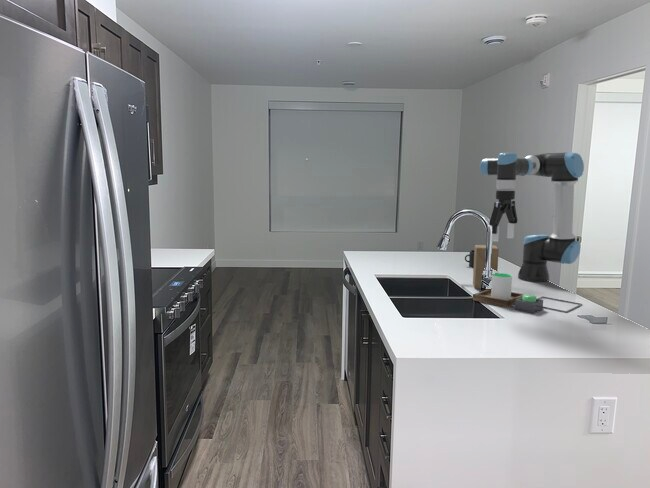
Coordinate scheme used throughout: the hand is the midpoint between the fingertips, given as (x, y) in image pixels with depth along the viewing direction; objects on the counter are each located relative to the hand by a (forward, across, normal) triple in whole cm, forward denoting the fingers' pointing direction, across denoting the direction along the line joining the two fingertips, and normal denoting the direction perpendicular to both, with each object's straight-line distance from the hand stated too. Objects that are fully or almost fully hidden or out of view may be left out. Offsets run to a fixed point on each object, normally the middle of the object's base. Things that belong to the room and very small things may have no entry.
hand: (502, 239), depth 211 cm
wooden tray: (+27, 0, 0) cm, 27 cm away
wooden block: (+27, -18, -17) cm, 36 cm away
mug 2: (+26, 0, 0) cm, 26 cm away
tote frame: (+27, -10, +19) cm, 34 cm away
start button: (+26, +5, +15) cm, 30 cm away
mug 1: (+27, -60, -47) cm, 81 cm away
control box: (+27, +5, +15) cm, 31 cm away
